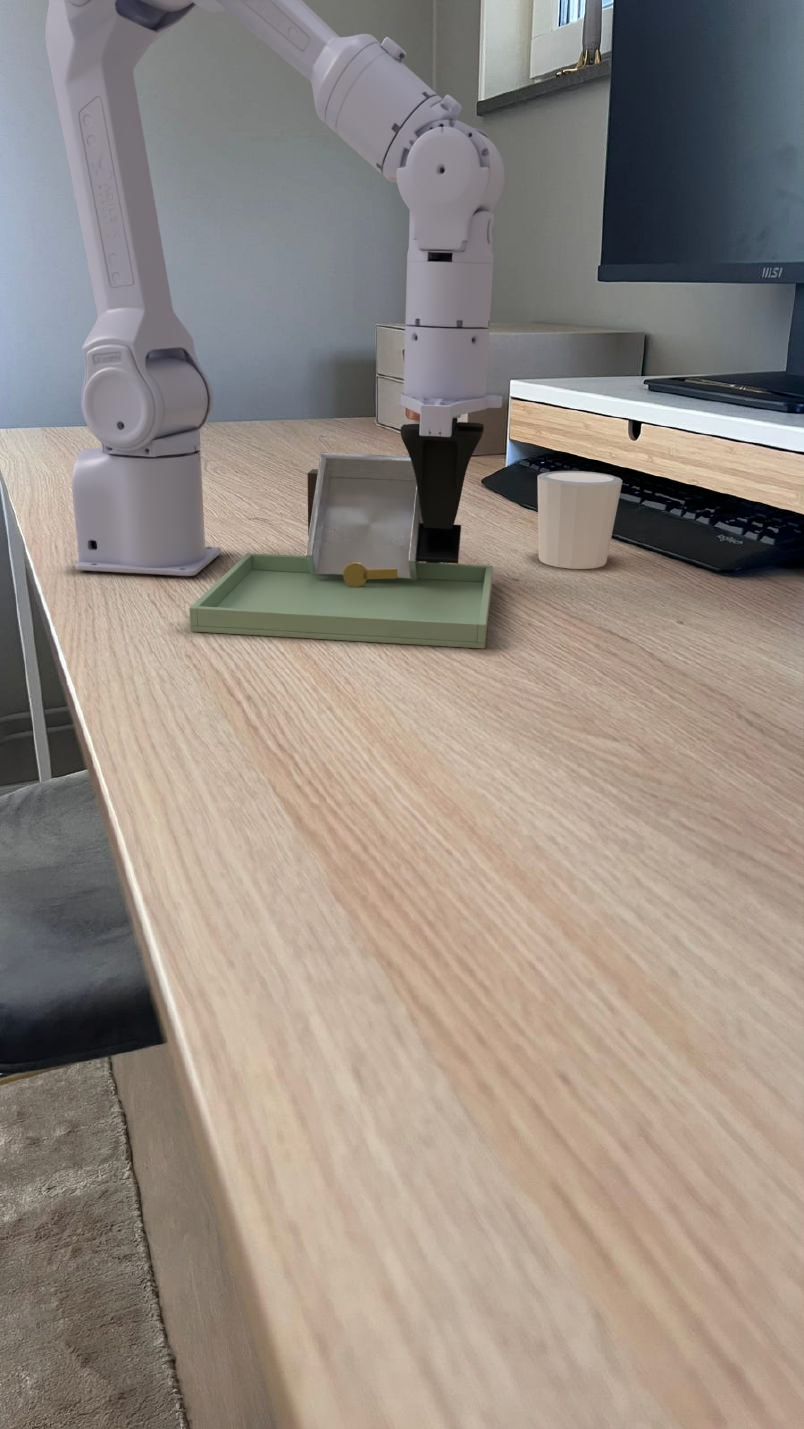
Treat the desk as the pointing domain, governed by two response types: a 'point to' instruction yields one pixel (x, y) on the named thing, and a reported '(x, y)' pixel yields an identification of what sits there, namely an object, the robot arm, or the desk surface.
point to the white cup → (576, 517)
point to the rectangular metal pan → (372, 518)
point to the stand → (311, 492)
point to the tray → (348, 604)
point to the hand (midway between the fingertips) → (438, 526)
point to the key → (366, 574)
